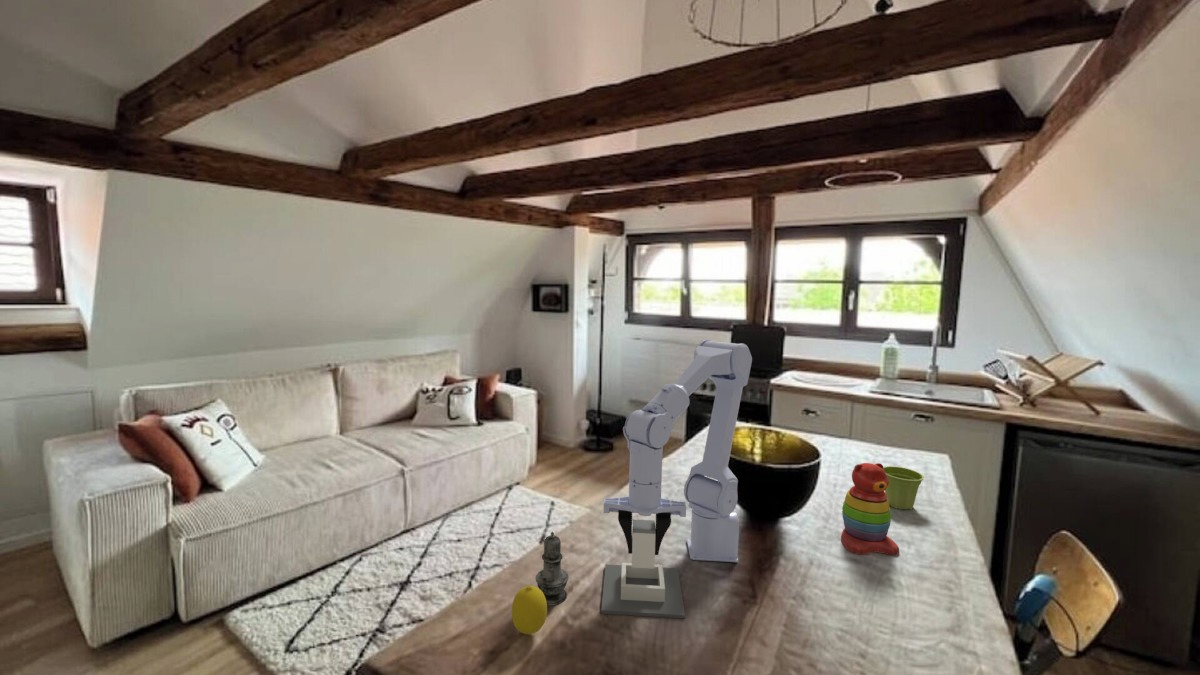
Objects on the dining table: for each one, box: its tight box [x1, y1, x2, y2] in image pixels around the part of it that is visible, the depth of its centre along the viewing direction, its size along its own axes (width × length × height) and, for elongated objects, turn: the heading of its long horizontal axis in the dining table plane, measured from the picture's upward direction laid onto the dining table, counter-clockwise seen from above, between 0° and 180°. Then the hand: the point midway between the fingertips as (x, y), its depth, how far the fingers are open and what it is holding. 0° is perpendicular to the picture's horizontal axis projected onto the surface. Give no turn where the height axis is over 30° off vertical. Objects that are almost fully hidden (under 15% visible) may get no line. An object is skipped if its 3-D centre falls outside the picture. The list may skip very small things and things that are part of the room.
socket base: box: [600, 562, 686, 619], centre depth 91 cm, size 14×14×3 cm
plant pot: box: [883, 465, 925, 510], centre depth 130 cm, size 9×9×9 cm
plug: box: [631, 518, 656, 569], centre depth 91 cm, size 4×4×7 cm
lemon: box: [511, 585, 548, 636], centre depth 79 cm, size 6×6×8 cm
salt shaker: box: [534, 531, 570, 606], centre depth 89 cm, size 6×6×12 cm
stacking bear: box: [840, 462, 900, 556], centre depth 109 cm, size 11×10×18 cm
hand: (643, 551), depth 91 cm, fingers closed on plug, 4 cm apart
